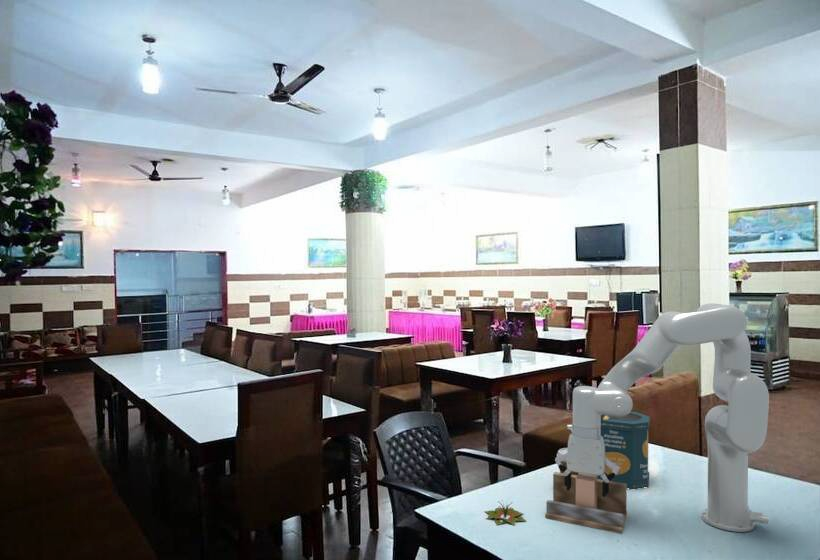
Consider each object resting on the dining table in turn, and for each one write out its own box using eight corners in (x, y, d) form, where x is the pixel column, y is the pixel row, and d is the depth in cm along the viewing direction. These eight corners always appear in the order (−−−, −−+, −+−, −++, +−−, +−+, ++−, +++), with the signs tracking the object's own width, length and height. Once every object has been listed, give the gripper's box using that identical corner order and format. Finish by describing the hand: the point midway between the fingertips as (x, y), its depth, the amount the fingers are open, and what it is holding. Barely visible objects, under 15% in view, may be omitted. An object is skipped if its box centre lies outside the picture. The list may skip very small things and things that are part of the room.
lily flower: (493, 530, 144) (493, 513, 144) (477, 511, 156) (477, 495, 156) (534, 525, 147) (534, 508, 147) (515, 507, 159) (515, 491, 159)
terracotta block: (594, 517, 148) (594, 481, 148) (575, 514, 151) (575, 478, 151) (597, 510, 153) (597, 475, 153) (578, 507, 155) (578, 472, 155)
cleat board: (626, 514, 153) (626, 482, 153) (621, 533, 141) (621, 499, 141) (555, 500, 162) (555, 470, 162) (545, 517, 151) (545, 485, 150)
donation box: (599, 467, 190) (599, 388, 190) (649, 475, 183) (650, 392, 183) (593, 483, 175) (593, 397, 175) (647, 492, 168) (648, 402, 168)
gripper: (552, 430, 152) (552, 491, 152) (617, 439, 144) (617, 502, 144) (558, 424, 159) (558, 482, 159) (620, 431, 151) (620, 492, 151)
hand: (586, 491), depth 152 cm, fingers open, 9 cm apart
